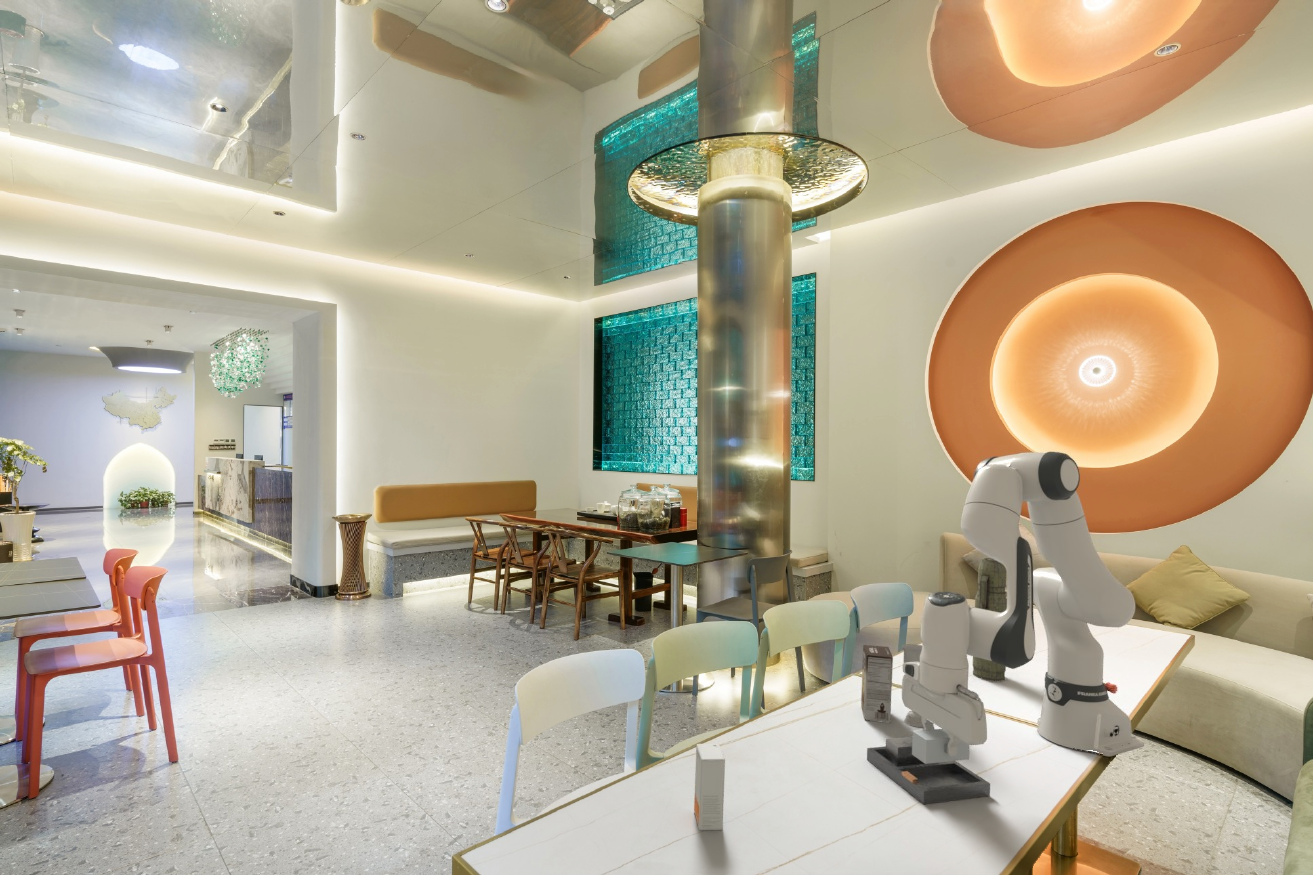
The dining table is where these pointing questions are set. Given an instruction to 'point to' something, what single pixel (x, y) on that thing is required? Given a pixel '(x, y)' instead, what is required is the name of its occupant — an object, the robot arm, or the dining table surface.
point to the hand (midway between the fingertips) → (940, 747)
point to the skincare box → (709, 786)
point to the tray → (926, 774)
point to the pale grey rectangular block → (936, 747)
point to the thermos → (993, 600)
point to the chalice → (912, 655)
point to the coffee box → (876, 683)
